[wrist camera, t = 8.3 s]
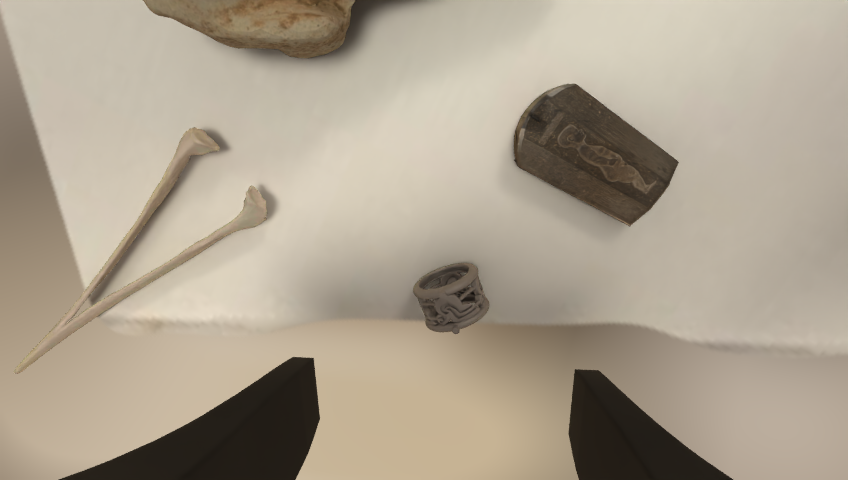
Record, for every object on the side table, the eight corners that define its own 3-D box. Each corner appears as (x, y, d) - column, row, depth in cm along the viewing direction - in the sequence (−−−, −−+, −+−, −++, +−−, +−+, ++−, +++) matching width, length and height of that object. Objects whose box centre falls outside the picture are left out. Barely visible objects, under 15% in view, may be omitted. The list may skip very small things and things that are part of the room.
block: (618, 218, 19) (633, 236, 17) (497, 152, 18) (500, 164, 16) (678, 144, 17) (700, 156, 15) (548, 68, 16) (557, 72, 15)
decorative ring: (476, 255, 19) (476, 281, 16) (489, 293, 19) (492, 325, 17) (416, 273, 20) (406, 302, 17) (430, 309, 20) (423, 343, 17)
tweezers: (267, 216, 17) (286, 204, 19) (181, 120, 17) (210, 118, 18) (25, 422, 22) (60, 396, 24) (-53, 355, 21) (-10, 333, 23)
